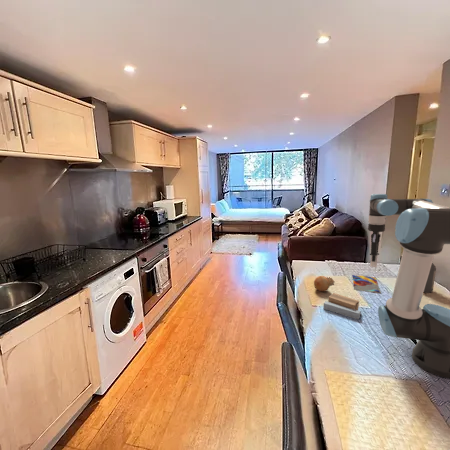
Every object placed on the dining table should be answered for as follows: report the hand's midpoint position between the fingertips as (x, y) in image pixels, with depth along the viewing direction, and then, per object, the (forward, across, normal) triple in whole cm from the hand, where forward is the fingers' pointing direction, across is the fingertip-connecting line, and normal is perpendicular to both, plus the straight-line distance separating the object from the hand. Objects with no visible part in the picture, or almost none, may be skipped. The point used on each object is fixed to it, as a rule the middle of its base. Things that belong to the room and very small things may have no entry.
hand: (373, 266), depth 133 cm
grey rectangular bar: (+26, -11, +12) cm, 31 cm away
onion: (+25, +10, +30) cm, 40 cm away
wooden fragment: (+25, +23, +31) cm, 46 cm away
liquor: (+25, +47, -23) cm, 58 cm away
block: (+26, -6, +13) cm, 29 cm away
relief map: (+26, +37, +8) cm, 46 cm away
